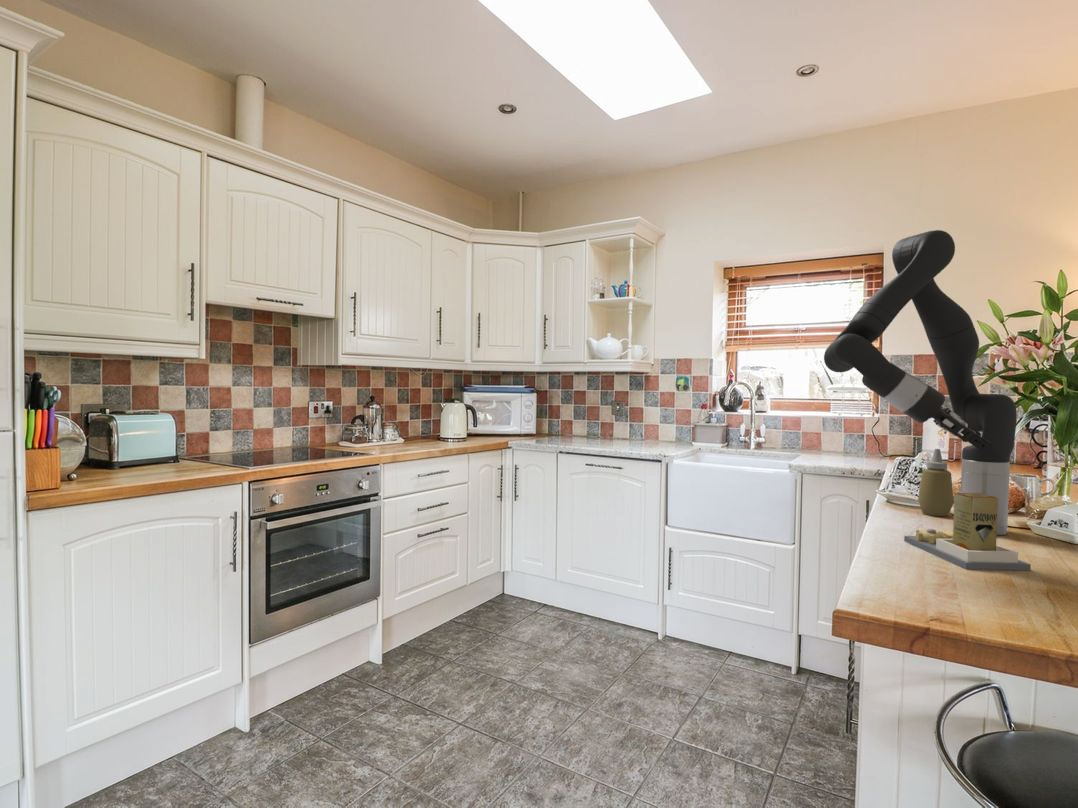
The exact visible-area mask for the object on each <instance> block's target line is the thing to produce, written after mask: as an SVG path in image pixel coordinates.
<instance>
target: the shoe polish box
mask: <svg viewBox="0 0 1078 808" xmlns="http://www.w3.org/2000/svg"><path fill="white" fill-rule="evenodd" d="M953 500H954V504H953V521H952V522H953V523H952V530H953V544H954V545H957V546H959V547H962V548H964V549H967V550H972V551H996V545H997V536H998V535H997V509H998V498H996V497H992V496H988V495H984V494H980V493H959V492H953Z"/></svg>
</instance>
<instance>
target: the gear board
mask: <svg viewBox="0 0 1078 808" xmlns="http://www.w3.org/2000/svg"><path fill="white" fill-rule="evenodd" d="M936 538H937V539H953V529H944V530H943V531H941V530H938V531H937V530H936V529H933V528H927V529H922V530H920V529H916V530H915V535H904V537H903V542H905V543H908V544H910V545H912V546H914V547H917V548H918V549H921V550H923V551H925V552H928V553H929V554H931V555H934V556H936V557H938V558H941V559H943V560H945V561H947V562H949V563H951V564H954V565H956V566H958V567H961V568H962V569H964V570H989V571H991V570H995V571H1031V569H1032V567H1031V564H1030V563H1029V562H1027V561H1024V560H1021V559H1018V563H1004V562H967V561H965V560H962V559H960V558H958V557H955V556H953V555H951V554H949V553H946V552H944V551H942V550H939V549H937V548H936Z"/></svg>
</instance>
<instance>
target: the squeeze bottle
mask: <svg viewBox="0 0 1078 808" xmlns="http://www.w3.org/2000/svg"><path fill="white" fill-rule="evenodd" d="M947 469H948V463H947V462H944V461H943V457H942V452H941V448H935V449H934V450H933V454H932V458H931V460H930V461H926V468H925V469H924V470H922V472H921V477H920V483H919V490H918V498H917V501H918V504H919V507H920V510H921V513H922V514H925V515H928V516H931V517H948V516H949V515H950V512H951V509H952V508H953V507H954V492H953V491H954V490H953V480H952V473H951V471H949V470H947Z"/></svg>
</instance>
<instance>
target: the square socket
mask: <svg viewBox="0 0 1078 808" xmlns="http://www.w3.org/2000/svg"><path fill="white" fill-rule="evenodd" d="M936 548H937V549H939V550H942V551H944V552H946V553H949V554H951V555H953V556H955V557H958V558H960V559H962V560H965V561H967V562H1004V563H1018V560H1019V552H1017V551H1015V550H1012V549H1010V548H1007V547H1004V546H1002V545H998V544H996V551H972V550H967V549H964V548H962V547H959V546H957V545H954V544H953V539H937V538H936Z"/></svg>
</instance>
